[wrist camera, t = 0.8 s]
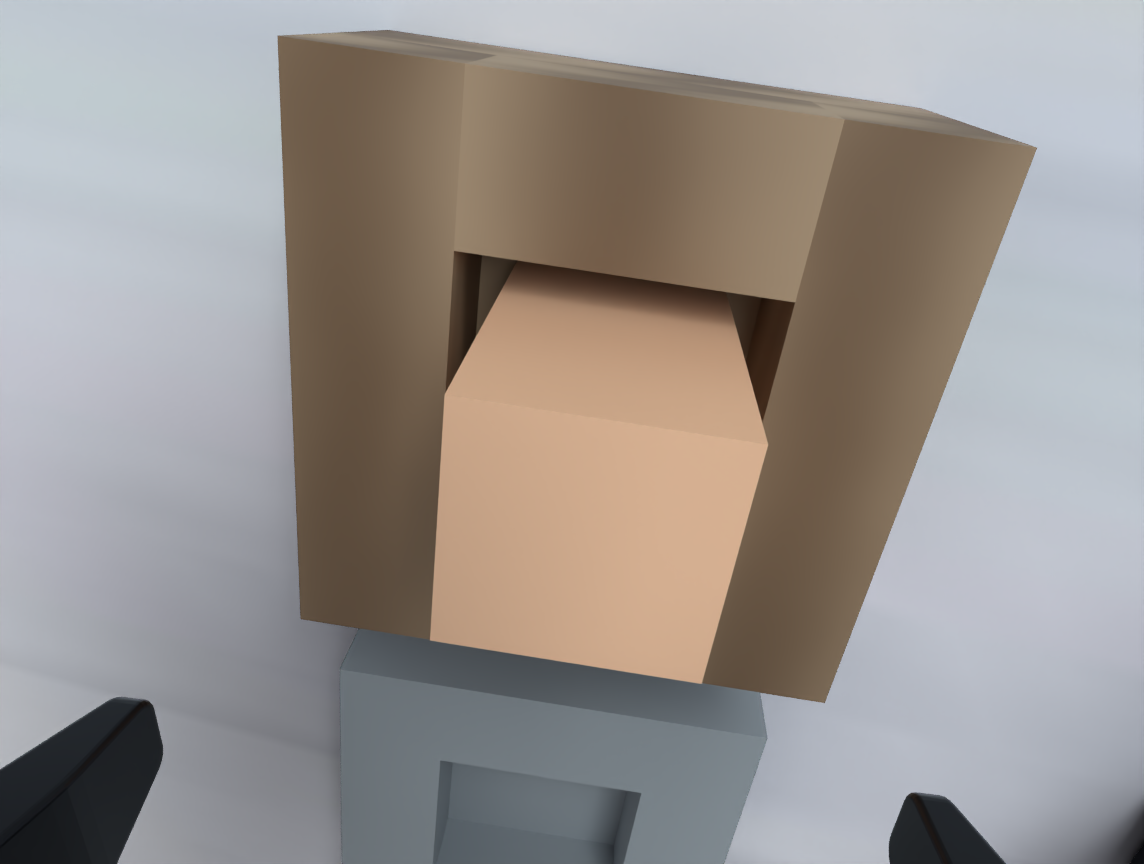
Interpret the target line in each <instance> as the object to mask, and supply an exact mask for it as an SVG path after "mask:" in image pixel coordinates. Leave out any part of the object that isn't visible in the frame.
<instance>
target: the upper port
mask: <svg viewBox="0 0 1144 864" xmlns="http://www.w3.org/2000/svg"><path fill="white" fill-rule="evenodd" d="M278 58H279V83H280V108H281V134H282V159H283V184H284V209H285V235H286V260H287V285H288V310H289V336H290V361H291V386H292V412H293V437H294V462H295V487H296V513H297V538H298V563H299V589H300V614H301V619H304V620H310V621H316V622H322V623H329V624H335V625H341V626H347V627H354V628H360V629H366V630H372V631H379V632H385V633H391V634H397V635H404V636H410V637H416V638H422V639H429V640H430V631H431V614H432V598H433V581H434V564H435V547H436V530H437V514H438V497H439V480H440V463H441V447H442V430H443V413H444V396H445V393H446V391H447V389H448V387H449V386H450V384H451V382H452V380H453V378H454V376H455V374H456V373H457V371H458V369H459V367H460V365H461V363H462V362H463V360H464V358H465V356H466V354H467V352H468V351H469V349H470V347H471V345H472V343H473V341H474V340H475V338H476V336H477V334H478V332H479V330H480V329H481V327H482V325H483V323H484V321H485V319H486V318H487V316H488V314H489V312H490V310H491V308H492V306H493V305H494V303H495V301H496V299H497V297H498V295H499V294H500V292H501V290H502V288H503V286H504V284H505V283H506V281H507V279H508V277H509V275H510V273H511V272H512V270H513V268H514V266H515V264H516V262H517V261H525V262H531V263H538V264H544V265H551V266H558V267H564V268H571V269H577V270H584V271H591V272H597V273H604V274H610V275H617V276H624V277H630V278H637V279H643V280H650V281H657V282H663V283H670V284H676V285H683V286H690V287H696V288H703V289H709V290H716V291H723V292H726V293H727V296H728V300H729V304H730V307H731V311H732V315H733V318H734V322H735V325H736V329H737V333H738V336H739V340H740V344H741V347H742V351H743V355H744V358H745V362H746V365H747V369H748V373H749V376H750V380H751V384H752V387H753V391H754V394H755V398H756V402H757V405H758V409H759V413H760V416H761V420H762V424H763V427H764V431H765V434H766V438H767V442H768V447H767V451H766V455H765V458H764V462H763V465H762V469H761V473H760V476H759V480H758V483H757V487H756V491H755V494H754V498H753V501H752V505H751V508H750V512H749V516H748V519H747V523H746V526H745V530H744V534H743V537H742V541H741V544H740V548H739V552H738V555H737V559H736V562H735V566H734V569H733V573H732V577H731V580H730V584H729V587H728V591H727V595H726V598H725V602H724V605H723V609H722V613H721V616H720V620H719V623H718V627H717V631H716V634H715V638H714V641H713V645H712V648H711V652H710V656H709V659H708V663H707V666H706V670H705V674H704V677H703V681H702V683H704V684H710V685H716V686H722V687H729V688H735V689H741V690H747V691H754V692H760V693H766V694H772V695H779V696H785V697H791V698H797V699H804V700H810V701H816V702H822V703H825V701H826V698H827V695H828V693H829V690H830V688H831V685H832V682H833V680H834V677H835V674H836V672H837V669H838V667H839V664H840V661H841V659H842V656H843V654H844V651H845V648H846V646H847V643H848V640H849V638H850V635H851V633H852V630H853V627H854V625H855V622H856V620H857V617H858V614H859V612H860V609H861V606H862V604H863V601H864V599H865V596H866V593H867V591H868V588H869V586H870V583H871V580H872V578H873V575H874V572H875V570H876V567H877V565H878V562H879V559H880V557H881V554H882V552H883V549H884V546H885V544H886V541H887V539H888V536H889V533H890V531H891V528H892V525H893V523H894V520H895V518H896V515H897V512H898V510H899V507H900V505H901V502H902V499H903V497H904V494H905V491H906V489H907V486H908V484H909V481H910V478H911V476H912V473H913V471H914V468H915V465H916V463H917V460H918V457H919V455H920V452H921V450H922V447H923V444H924V442H925V439H926V437H927V434H928V431H929V429H930V426H931V424H932V421H933V418H934V416H935V413H936V410H937V408H938V405H939V403H940V400H941V397H942V395H943V392H944V390H945V387H946V384H947V382H948V379H949V376H950V374H951V371H952V369H953V366H954V363H955V361H956V358H957V356H958V353H959V350H960V348H961V345H962V342H963V340H964V337H965V335H966V332H967V329H968V327H969V324H970V322H971V319H972V316H973V314H974V311H975V309H976V306H977V303H978V301H979V298H980V295H981V293H982V290H983V288H984V285H985V282H986V280H987V277H988V275H989V272H990V269H991V267H992V264H993V261H994V259H995V256H996V254H997V251H998V248H999V246H1000V243H1001V241H1002V238H1003V235H1004V233H1005V230H1006V227H1007V225H1008V222H1009V220H1010V217H1011V214H1012V212H1013V209H1014V207H1015V204H1016V201H1017V199H1018V196H1019V194H1020V191H1021V188H1022V186H1023V183H1024V180H1025V178H1026V175H1027V173H1028V170H1029V167H1030V165H1031V162H1032V160H1033V157H1034V154H1035V152H1036V149H1037V148H1036V147H1033V146H1030V145H1028V144H1025V143H1022V142H1019V141H1016V140H1013V139H1010V138H1007V137H1004V136H1001V135H998V134H995V133H992V132H989V131H986V130H983V129H980V128H977V127H975V126H972V125H969V124H966V123H963V122H960V121H957V120H954V119H951V118H948V117H945V116H942V115H939V114H936V113H933V112H930V111H927V110H925V109H922V108H915V107H908V106H901V105H895V104H888V103H881V102H874V101H867V100H861V99H854V98H847V97H840V96H833V95H827V94H820V93H813V92H806V91H799V90H793V89H786V88H779V87H772V86H765V85H758V84H752V83H745V82H738V81H731V80H724V79H718V78H711V77H704V76H697V75H690V74H684V73H677V72H670V71H663V70H656V69H650V68H643V67H636V66H629V65H622V64H615V63H609V62H602V61H595V60H588V59H581V58H575V57H568V56H561V55H554V54H547V53H541V52H534V51H527V50H520V49H513V48H507V47H500V46H493V45H486V44H479V43H472V42H466V41H459V40H452V39H445V38H438V37H432V36H425V35H418V34H411V33H404V32H398V31H391V30H380V31H360V32H341V33H322V34H303V35H284V36H278Z"/></svg>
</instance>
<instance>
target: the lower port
mask: <svg viewBox="0 0 1144 864" xmlns="http://www.w3.org/2000/svg"><path fill="white" fill-rule="evenodd" d="M766 741H767V733H766V727H765V721H764V714H763V708H762V702H761V696H760V692H754V691H747V690H741V689H735V688H729V687H722V686H716V685H710V684H704V683H702V684H699V683H692V682H686V681H680V680H674V679H667V678H661V677H655V676H649V675H642V674H636V673H630V672H624V671H617V670H611V669H605V668H599V667H592V666H586V665H580V664H574V663H567V662H561V661H555V660H549V659H542V658H536V657H530V656H524V655H517V654H511V653H505V652H499V651H492V650H486V649H480V648H474V647H467V646H461V645H455V644H449V643H442V642H436V641H430V640H429V639H422V638H416V637H410V636H404V635H397V634H391V633H385V632H379V631H372V630H366V629H360V628H359V630H358V632H357V634H356V636H355V638H354V640H353V643H352V645H351V647H350V649H349V651H348V653H347V655H346V657H345V659H344V661H343V664H342V666H341V668H340V746H341V843H342V864H724V862H725V859H726V856H727V853H728V851H729V848H730V845H731V842H732V839H733V836H734V833H735V830H736V827H737V825H738V822H739V819H740V816H741V813H742V810H743V807H744V804H745V801H746V799H747V796H748V793H749V790H750V787H751V784H752V781H753V778H754V775H755V773H756V770H757V767H758V764H759V761H760V758H761V755H762V752H763V749H764V747H765V744H766Z"/></svg>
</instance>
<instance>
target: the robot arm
mask: <svg viewBox="0 0 1144 864" xmlns="http://www.w3.org/2000/svg"><path fill="white" fill-rule="evenodd" d="M162 756H163V744H162V740H161V736H160V731H159V727H158V723H157V719H156V715H155V710H154V707H153V705H152V704H151V703H150V702H149V701H147V700H144V699H136V698H127V697H116V698H113V699H111V700H109V701H107V702H105V703H104V704H102V705H101V706H99V707H97V708H96V709H94V710H93V711H91V712H90V713H88V714H86V715H85V716H83V717H82V718H80V719H79V720H77V721H75V722H74V723H72V724H71V725H69V726H68V727H66V728H64V729H63V730H61V731H60V732H58V733H57V734H55V735H53V736H52V737H50V738H49V739H47V740H46V741H44V742H42V743H41V744H39V745H38V746H36V747H35V748H33V749H31V750H30V751H28V752H27V753H25V754H24V755H22V756H20V757H19V758H17V759H16V760H14V761H13V762H11V763H9V764H8V765H6V766H5V767H3V768H2V769H0V864H117V862H118V860H119V858H120V856H121V853H122V851H123V849H124V847H125V844H126V842H127V840H128V838H129V835H130V833H131V831H132V829H133V826H134V824H135V822H136V820H137V817H138V815H139V813H140V811H141V808H142V806H143V804H144V802H145V799H146V797H147V795H148V793H149V790H150V788H151V786H152V784H153V781H154V779H155V777H156V775H157V772H158V770H159V767H160V765H161V761H162ZM889 860H890V864H1006V863H1005V862H1004V861H1003V859H1002V858H1001V857H1000V856H999V855H998V854H997V853H996V852H995V850H994V849H993V848H992V847H991V846H990V845H989V844H988V842H987V841H986V840H985V839H984V838H983V837H982V836H981V834H980V833H979V832H978V831H977V830H976V829H975V828H974V827H973V825H972V824H971V823H970V822H969V821H968V820H967V819H966V817H965V816H964V815H963V814H962V813H961V812H960V811H959V810H958V808H957V807H956V806H955V805H954V804H953V803H952V802H951V801H950V800H948V799H947V798H946V797H944V796H940V795H933V794H924V793H916V792H915V793H911V794H909V795H908V796H907V797H906V799H905V800H904V803H903V805H902V808H901V811H900V813H899V816H898V818H897V821H896V823H895V826H894V828H893V831H892V833H891V836H890V841H889ZM1130 864H1144V845H1143V846H1142V848H1141V849H1140V850H1139V852H1138V853H1137V854H1136V856H1135V857H1134V859H1133V860H1132V861H1131V863H1130Z"/></svg>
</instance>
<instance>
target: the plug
mask: <svg viewBox="0 0 1144 864" xmlns="http://www.w3.org/2000/svg"><path fill="white" fill-rule="evenodd" d="M767 447H768V442H767V438H766V434H765V431H764V427H763V424H762V420H761V416H760V413H759V409H758V405H757V402H756V398H755V394H754V391H753V387H752V384H751V380H750V376H749V373H748V369H747V365H746V362H745V358H744V355H743V351H742V347H741V344H740V340H739V336H738V333H737V329H736V325H735V322H734V318H733V315H732V311H731V307H730V304H729V300H728V296H727V293H726V292H723V291H716V290H709V289H703V288H696V287H690V286H683V285H676V284H670V283H663V282H657V281H650V280H643V279H637V278H630V277H624V276H617V275H610V274H604V273H597V272H591V271H584V270H577V269H571V268H564V267H558V266H551V265H544V264H538V263H531V262H525V261H517V262H516V264H515V266H514V268H513V270H512V272H511V273H510V275H509V277H508V279H507V281H506V283H505V284H504V286H503V288H502V290H501V292H500V294H499V295H498V297H497V299H496V301H495V303H494V305H493V306H492V308H491V310H490V312H489V314H488V316H487V318H486V319H485V321H484V323H483V325H482V327H481V329H480V330H479V332H478V334H477V336H476V338H475V340H474V341H473V343H472V345H471V347H470V349H469V351H468V352H467V354H466V356H465V358H464V360H463V362H462V363H461V365H460V367H459V369H458V371H457V373H456V374H455V376H454V378H453V380H452V382H451V384H450V386H449V387H448V389H447V391H446V393H445V396H444V413H443V430H442V447H441V463H440V480H439V497H438V514H437V530H436V547H435V564H434V581H433V598H432V614H431V631H430V641H436V642H442V643H449V644H455V645H461V646H467V647H474V648H480V649H486V650H492V651H499V652H505V653H511V654H517V655H524V656H530V657H536V658H542V659H549V660H555V661H561V662H567V663H574V664H580V665H586V666H592V667H599V668H605V669H611V670H617V671H624V672H630V673H636V674H642V675H649V676H655V677H661V678H667V679H674V680H680V681H686V682H692V683H699V684H702V681H703V677H704V674H705V670H706V666H707V663H708V659H709V656H710V652H711V648H712V645H713V641H714V638H715V634H716V631H717V627H718V623H719V620H720V616H721V613H722V609H723V605H724V602H725V598H726V595H727V591H728V587H729V584H730V580H731V577H732V573H733V569H734V566H735V562H736V559H737V555H738V552H739V548H740V544H741V541H742V537H743V534H744V530H745V526H746V523H747V519H748V516H749V512H750V508H751V505H752V501H753V498H754V494H755V491H756V487H757V483H758V480H759V476H760V473H761V469H762V465H763V462H764V458H765V455H766V451H767Z"/></svg>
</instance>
